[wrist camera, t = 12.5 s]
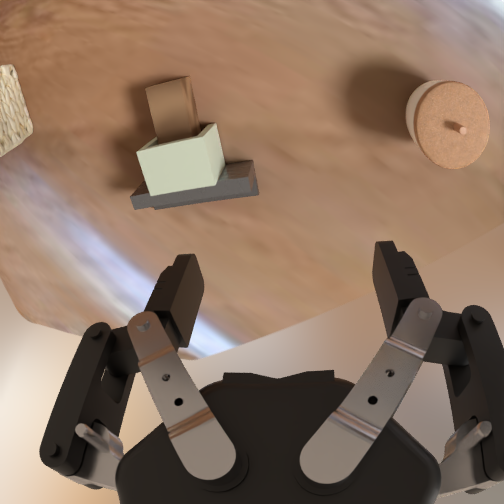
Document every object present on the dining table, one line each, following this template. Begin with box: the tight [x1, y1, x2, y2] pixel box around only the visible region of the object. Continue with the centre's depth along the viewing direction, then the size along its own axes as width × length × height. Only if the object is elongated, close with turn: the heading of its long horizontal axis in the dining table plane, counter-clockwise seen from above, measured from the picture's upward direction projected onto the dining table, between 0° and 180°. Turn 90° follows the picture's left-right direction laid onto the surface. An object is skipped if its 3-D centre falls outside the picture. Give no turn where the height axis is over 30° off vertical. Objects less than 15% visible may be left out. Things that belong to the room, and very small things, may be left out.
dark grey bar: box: [130, 160, 259, 210], centre depth 41 cm, size 5×16×6 cm, turn 100°
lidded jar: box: [405, 80, 490, 169], centre depth 30 cm, size 11×11×9 cm
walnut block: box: [145, 76, 201, 144], centre depth 37 cm, size 12×4×4 cm, turn 9°
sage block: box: [136, 123, 225, 196], centre depth 38 cm, size 6×8×7 cm
